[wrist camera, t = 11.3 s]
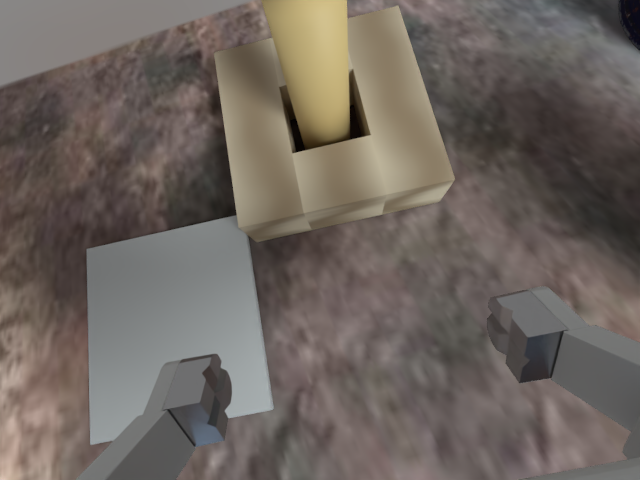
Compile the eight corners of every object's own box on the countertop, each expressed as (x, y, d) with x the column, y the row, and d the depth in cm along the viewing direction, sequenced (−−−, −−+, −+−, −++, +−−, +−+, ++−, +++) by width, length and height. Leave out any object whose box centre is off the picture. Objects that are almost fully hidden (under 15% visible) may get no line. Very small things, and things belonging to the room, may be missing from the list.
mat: (95, 442, 20) (90, 444, 20) (91, 250, 23) (86, 249, 23) (273, 408, 19) (272, 409, 19) (245, 215, 22) (243, 213, 22)
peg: (308, 167, 23) (268, 34, 12) (300, 127, 24) (255, -33, 13) (355, 157, 23) (355, 12, 12) (345, 116, 23) (336, -54, 13)
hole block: (256, 242, 22) (238, 227, 18) (233, 89, 25) (213, 52, 21) (439, 201, 21) (455, 179, 18) (392, 49, 24) (398, 5, 21)
